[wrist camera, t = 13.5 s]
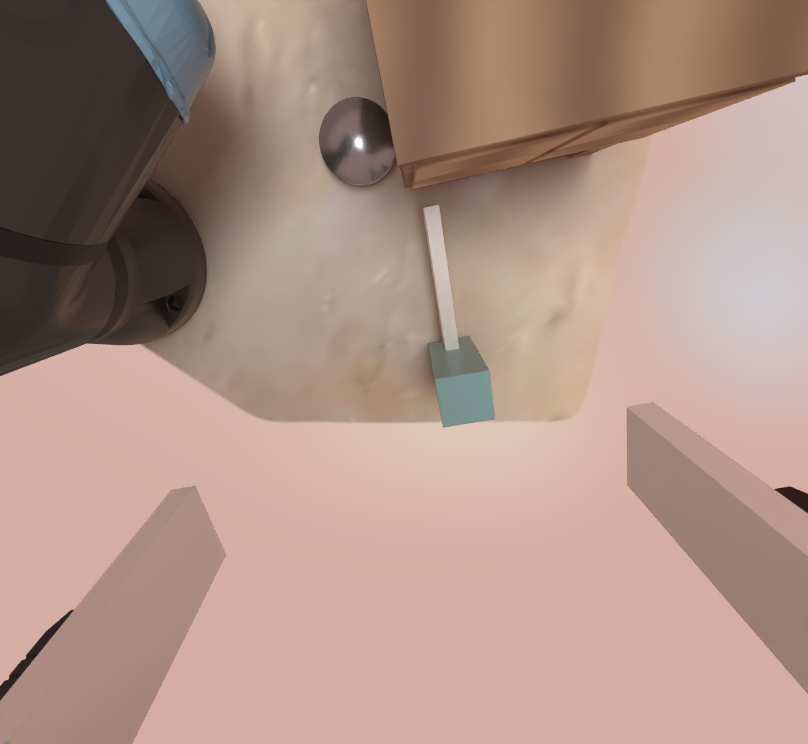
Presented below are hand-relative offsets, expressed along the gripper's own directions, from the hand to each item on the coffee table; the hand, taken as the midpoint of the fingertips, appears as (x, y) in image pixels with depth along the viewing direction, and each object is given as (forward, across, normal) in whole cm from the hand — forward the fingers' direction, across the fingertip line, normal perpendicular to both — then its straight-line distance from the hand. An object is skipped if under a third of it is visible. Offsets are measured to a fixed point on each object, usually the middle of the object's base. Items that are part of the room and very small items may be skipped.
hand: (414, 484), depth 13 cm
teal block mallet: (+28, +4, 0) cm, 28 cm away
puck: (+29, -1, +13) cm, 32 cm away
